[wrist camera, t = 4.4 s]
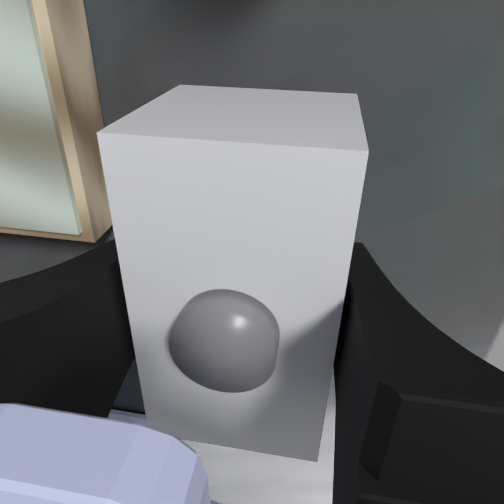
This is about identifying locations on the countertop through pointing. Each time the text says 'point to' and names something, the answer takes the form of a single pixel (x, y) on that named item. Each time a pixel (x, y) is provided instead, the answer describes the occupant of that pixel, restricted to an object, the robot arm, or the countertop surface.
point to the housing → (236, 257)
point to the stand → (49, 123)
